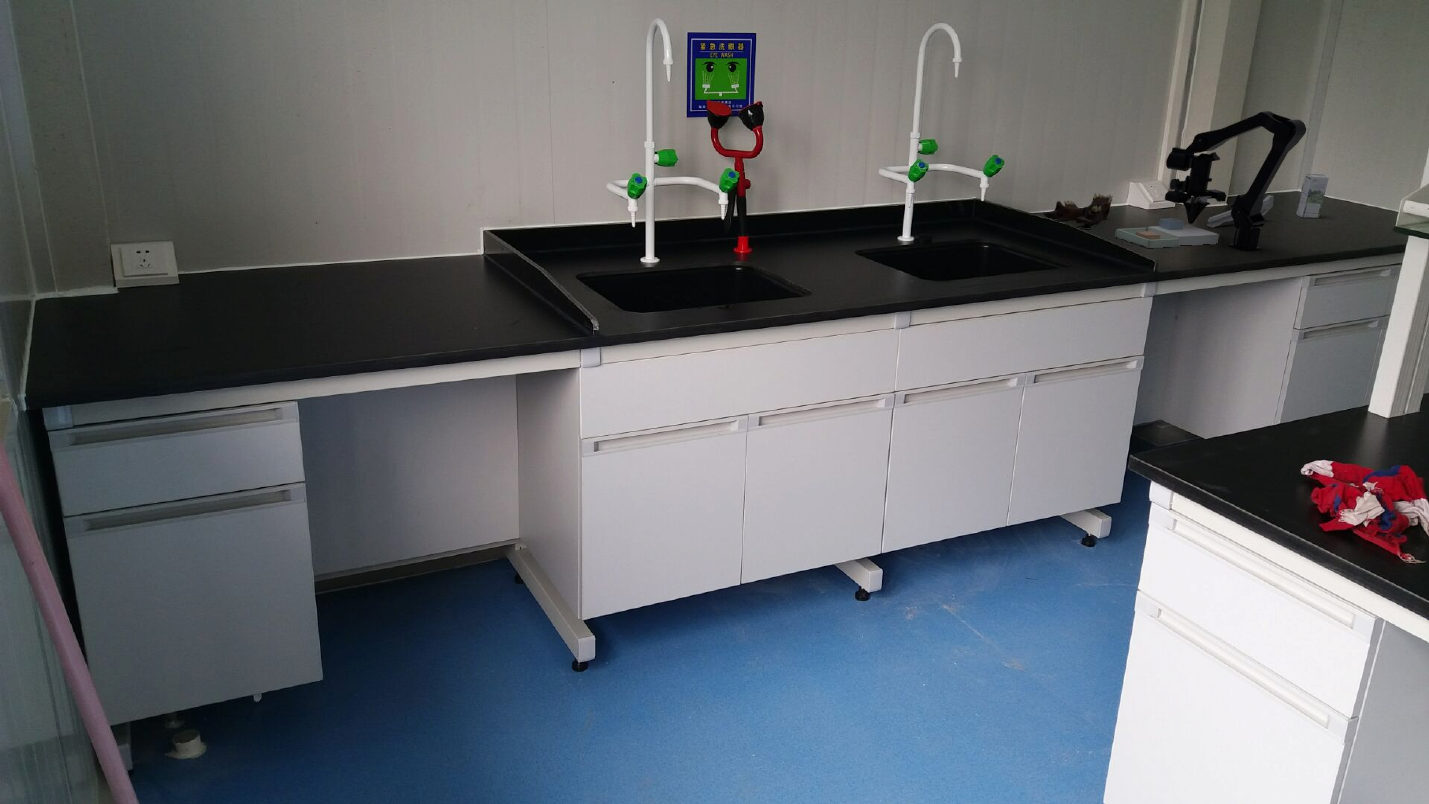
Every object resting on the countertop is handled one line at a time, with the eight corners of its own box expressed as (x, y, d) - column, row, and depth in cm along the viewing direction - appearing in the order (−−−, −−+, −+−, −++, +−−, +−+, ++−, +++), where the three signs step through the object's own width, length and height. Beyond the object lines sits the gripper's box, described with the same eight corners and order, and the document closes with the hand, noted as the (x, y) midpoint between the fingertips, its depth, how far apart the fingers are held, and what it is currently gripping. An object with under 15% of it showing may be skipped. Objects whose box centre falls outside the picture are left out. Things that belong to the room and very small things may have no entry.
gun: (1272, 217, 368) (1274, 195, 364) (1210, 240, 356) (1211, 217, 353) (1266, 216, 369) (1269, 194, 366) (1205, 239, 358) (1206, 216, 354)
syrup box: (1312, 215, 379) (1322, 173, 374) (1319, 218, 374) (1329, 176, 368) (1295, 214, 380) (1304, 172, 374) (1302, 218, 374) (1311, 175, 369)
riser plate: (1217, 244, 333) (1219, 234, 332) (1176, 246, 329) (1178, 236, 328) (1186, 234, 345) (1187, 224, 344) (1146, 236, 341) (1148, 226, 340)
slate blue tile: (1182, 229, 338) (1184, 221, 337) (1169, 230, 336) (1170, 222, 335) (1171, 225, 342) (1173, 218, 341) (1158, 226, 341) (1159, 218, 340)
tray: (1177, 247, 328) (1179, 238, 327) (1147, 248, 325) (1149, 240, 324) (1143, 235, 342) (1145, 227, 341) (1114, 236, 339) (1115, 229, 338)
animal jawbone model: (1132, 232, 359) (1140, 204, 353) (1076, 244, 348) (1084, 215, 343) (1094, 212, 371) (1101, 185, 366) (1039, 222, 361) (1046, 194, 356)
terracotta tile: (1146, 235, 328) (1144, 243, 329) (1160, 234, 329) (1159, 242, 330) (1136, 231, 332) (1134, 239, 333) (1150, 231, 333) (1148, 239, 334)
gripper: (1206, 168, 345) (1197, 217, 351) (1157, 170, 340) (1148, 219, 345) (1231, 174, 335) (1221, 224, 341) (1181, 176, 330) (1172, 227, 335)
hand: (1190, 223), depth 341 cm, fingers closed
